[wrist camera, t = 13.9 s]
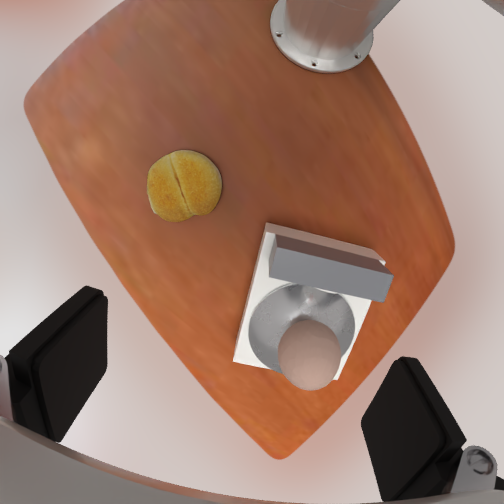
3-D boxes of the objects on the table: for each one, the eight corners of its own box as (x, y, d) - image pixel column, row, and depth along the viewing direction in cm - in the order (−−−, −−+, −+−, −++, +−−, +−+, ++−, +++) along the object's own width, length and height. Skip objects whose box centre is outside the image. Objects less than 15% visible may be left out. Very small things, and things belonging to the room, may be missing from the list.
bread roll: (230, 206, 39) (226, 212, 35) (162, 225, 40) (152, 232, 36) (212, 140, 36) (206, 138, 33) (144, 162, 37) (131, 164, 34)
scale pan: (263, 269, 35) (263, 272, 34) (368, 293, 36) (370, 296, 35) (238, 361, 39) (238, 365, 38) (332, 378, 39) (333, 381, 38)
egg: (298, 297, 35) (307, 341, 26) (344, 323, 36) (363, 370, 27) (265, 340, 37) (265, 391, 28) (310, 363, 38) (320, 414, 29)
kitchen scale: (266, 222, 39) (266, 244, 29) (372, 249, 39) (402, 277, 30) (236, 340, 44) (228, 386, 34) (331, 358, 44) (343, 404, 35)
